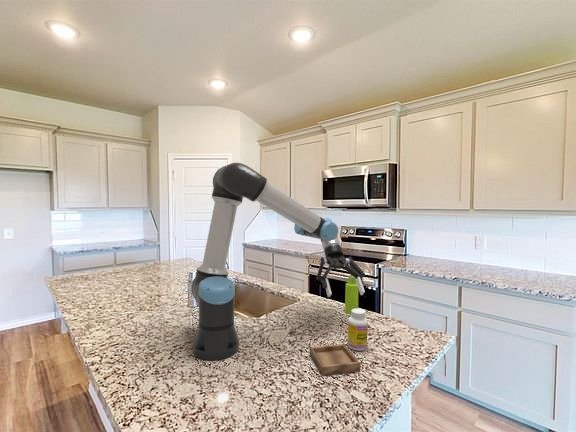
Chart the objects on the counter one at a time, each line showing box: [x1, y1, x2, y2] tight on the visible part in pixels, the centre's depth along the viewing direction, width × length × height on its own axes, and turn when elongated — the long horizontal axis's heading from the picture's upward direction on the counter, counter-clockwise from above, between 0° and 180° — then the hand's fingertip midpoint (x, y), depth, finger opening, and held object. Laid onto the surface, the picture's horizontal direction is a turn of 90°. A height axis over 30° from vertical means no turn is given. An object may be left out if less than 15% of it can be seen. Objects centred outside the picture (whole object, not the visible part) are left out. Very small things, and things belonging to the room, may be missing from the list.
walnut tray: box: [309, 343, 361, 377], centre depth 93 cm, size 12×12×2 cm
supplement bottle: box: [347, 308, 369, 352], centre depth 103 cm, size 7×7×13 cm
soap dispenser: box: [344, 274, 360, 315], centre depth 136 cm, size 6×7×20 cm
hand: (346, 294), depth 113 cm, fingers open, 13 cm apart
